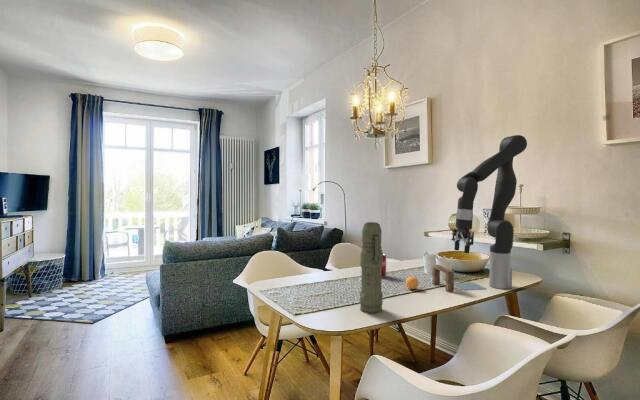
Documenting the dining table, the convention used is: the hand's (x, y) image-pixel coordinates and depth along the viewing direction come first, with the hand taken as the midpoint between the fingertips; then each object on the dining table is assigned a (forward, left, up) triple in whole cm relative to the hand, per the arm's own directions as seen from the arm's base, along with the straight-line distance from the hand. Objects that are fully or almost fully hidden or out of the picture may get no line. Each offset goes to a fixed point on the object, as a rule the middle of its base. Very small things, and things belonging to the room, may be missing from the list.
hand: (461, 251), depth 174 cm
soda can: (+31, -30, -18) cm, 47 cm away
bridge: (+8, -3, -18) cm, 20 cm away
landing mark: (-6, -3, -18) cm, 19 cm away
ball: (+24, -3, -15) cm, 29 cm away
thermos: (+53, +22, -18) cm, 61 cm away
